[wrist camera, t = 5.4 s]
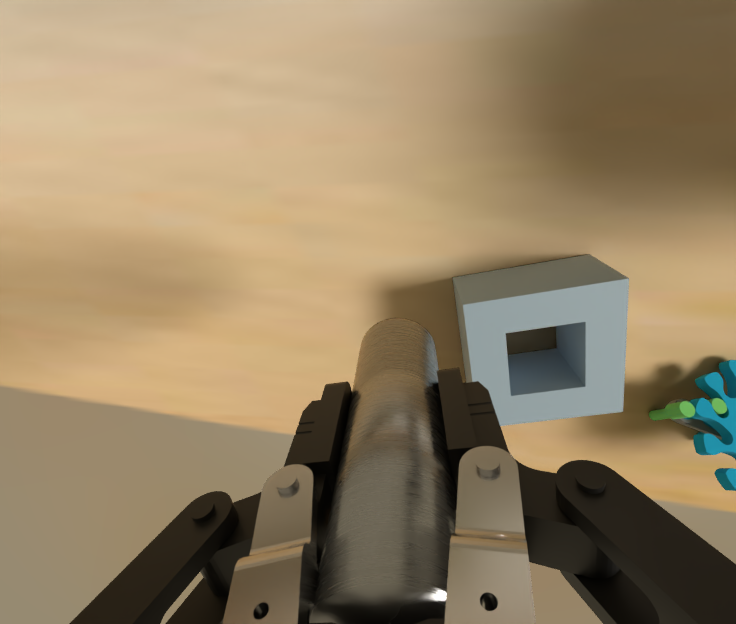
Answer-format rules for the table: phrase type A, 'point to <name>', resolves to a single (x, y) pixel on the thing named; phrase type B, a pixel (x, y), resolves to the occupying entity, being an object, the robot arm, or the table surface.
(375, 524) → the pin
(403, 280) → the table surface
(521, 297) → the socket block
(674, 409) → the teal lobed toy
